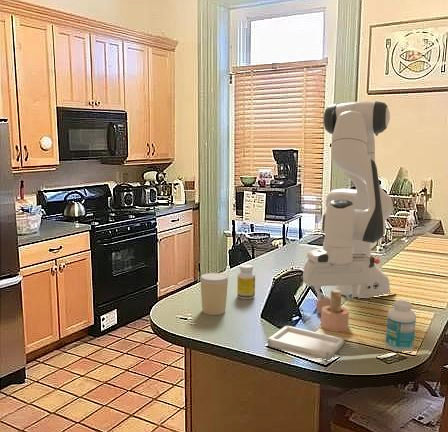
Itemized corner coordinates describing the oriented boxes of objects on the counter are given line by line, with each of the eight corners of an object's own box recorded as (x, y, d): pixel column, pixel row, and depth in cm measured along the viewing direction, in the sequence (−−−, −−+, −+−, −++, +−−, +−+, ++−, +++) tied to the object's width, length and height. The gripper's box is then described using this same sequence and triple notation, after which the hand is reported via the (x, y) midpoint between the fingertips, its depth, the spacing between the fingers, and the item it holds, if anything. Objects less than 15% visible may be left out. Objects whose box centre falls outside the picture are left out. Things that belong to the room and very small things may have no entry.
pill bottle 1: (253, 300, 179) (254, 268, 177) (235, 298, 180) (236, 267, 178) (255, 294, 185) (256, 264, 183) (238, 293, 186) (239, 263, 184)
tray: (344, 346, 140) (344, 338, 140) (328, 362, 130) (329, 354, 130) (286, 332, 150) (286, 325, 149) (267, 345, 140) (267, 338, 139)
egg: (319, 312, 167) (319, 292, 166) (334, 315, 165) (334, 295, 164) (313, 316, 163) (314, 296, 162) (328, 319, 160) (329, 299, 159)
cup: (341, 323, 158) (342, 304, 157) (352, 332, 150) (353, 313, 149) (317, 324, 156) (317, 306, 155) (326, 334, 148) (327, 315, 147)
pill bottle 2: (380, 344, 142) (383, 298, 140) (406, 343, 143) (409, 298, 141) (391, 355, 135) (395, 307, 133) (418, 354, 135) (422, 307, 133)
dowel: (337, 324, 155) (338, 289, 153) (341, 327, 152) (343, 293, 150) (327, 324, 154) (329, 290, 152) (331, 328, 151) (333, 293, 149)
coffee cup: (231, 308, 170) (232, 274, 168) (222, 317, 161) (222, 281, 160) (205, 304, 173) (206, 271, 171) (195, 313, 164) (195, 278, 163)
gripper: (365, 251, 154) (362, 294, 156) (302, 252, 150) (300, 296, 153) (375, 256, 148) (371, 301, 150) (309, 257, 144) (307, 303, 146)
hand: (335, 298), depth 151 cm, fingers open, 8 cm apart
